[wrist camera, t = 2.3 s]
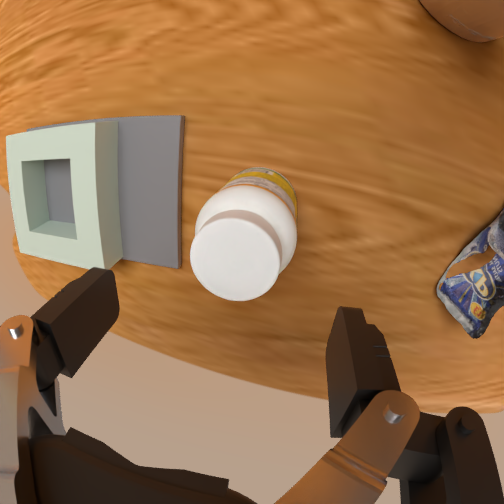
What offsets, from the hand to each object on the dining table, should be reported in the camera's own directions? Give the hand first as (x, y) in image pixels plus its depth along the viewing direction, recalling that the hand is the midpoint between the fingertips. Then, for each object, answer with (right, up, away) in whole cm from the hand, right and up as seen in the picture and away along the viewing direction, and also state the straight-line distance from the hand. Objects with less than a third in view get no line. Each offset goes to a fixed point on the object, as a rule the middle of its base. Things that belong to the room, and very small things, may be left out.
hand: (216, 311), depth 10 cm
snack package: (+23, +2, +10) cm, 25 cm away
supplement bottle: (+2, +6, +12) cm, 13 cm away
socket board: (-13, +8, +13) cm, 19 cm away
